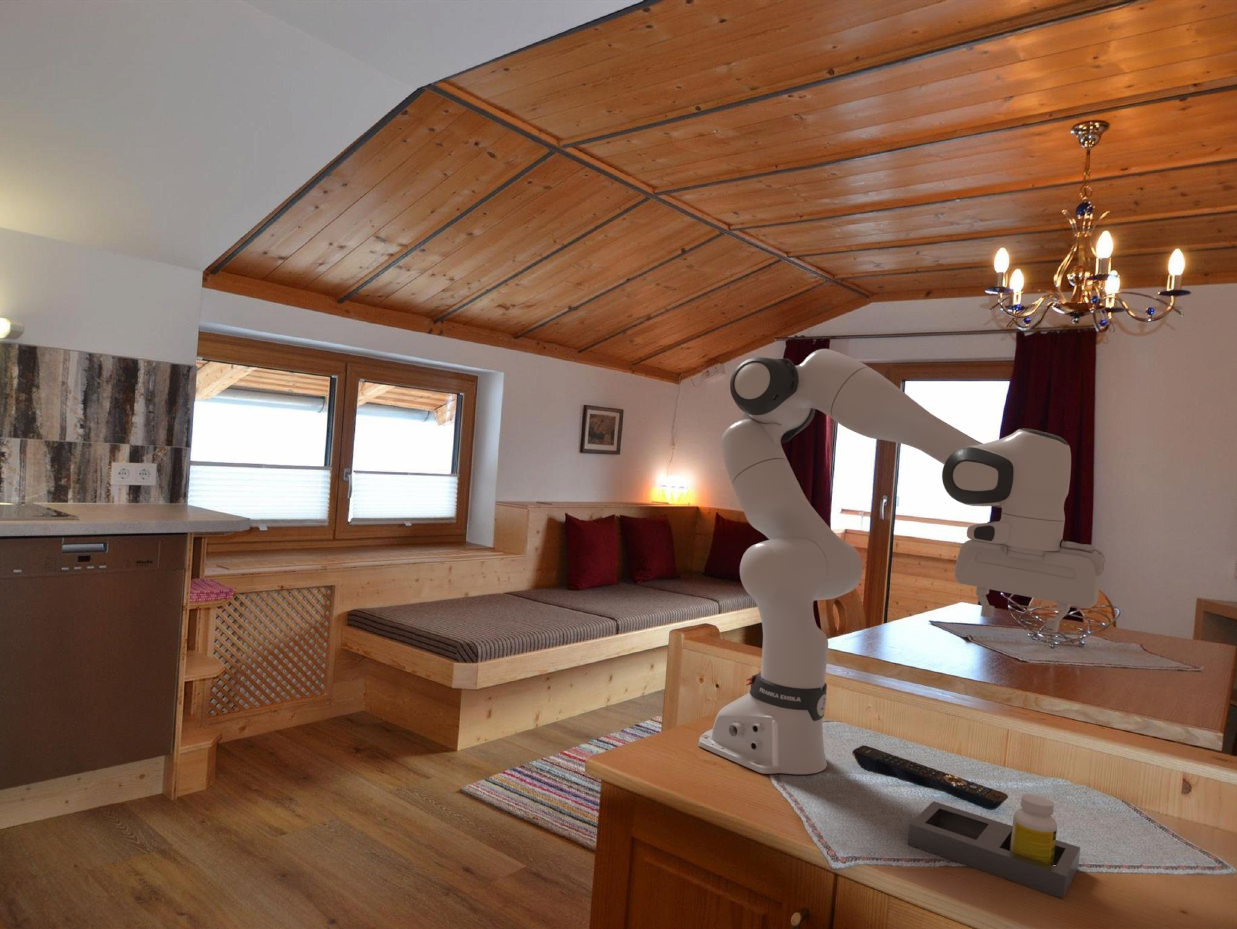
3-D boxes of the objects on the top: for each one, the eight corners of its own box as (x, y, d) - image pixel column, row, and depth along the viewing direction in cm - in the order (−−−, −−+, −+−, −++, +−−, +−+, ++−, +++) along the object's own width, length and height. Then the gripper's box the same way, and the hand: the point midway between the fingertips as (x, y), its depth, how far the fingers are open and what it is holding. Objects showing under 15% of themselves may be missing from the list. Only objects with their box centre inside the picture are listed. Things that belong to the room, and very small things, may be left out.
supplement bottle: (1057, 883, 116) (1065, 810, 116) (1014, 876, 117) (1021, 804, 117) (1045, 863, 121) (1052, 794, 121) (1003, 857, 122) (1010, 788, 122)
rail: (907, 844, 124) (909, 823, 124) (931, 820, 133) (933, 801, 132) (1063, 899, 112) (1065, 876, 112) (1078, 868, 121) (1080, 847, 121)
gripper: (1110, 545, 130) (1097, 636, 131) (968, 524, 143) (958, 607, 144) (1102, 548, 125) (1089, 643, 126) (957, 525, 138) (946, 612, 139)
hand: (1018, 623), depth 135 cm, fingers open, 8 cm apart
